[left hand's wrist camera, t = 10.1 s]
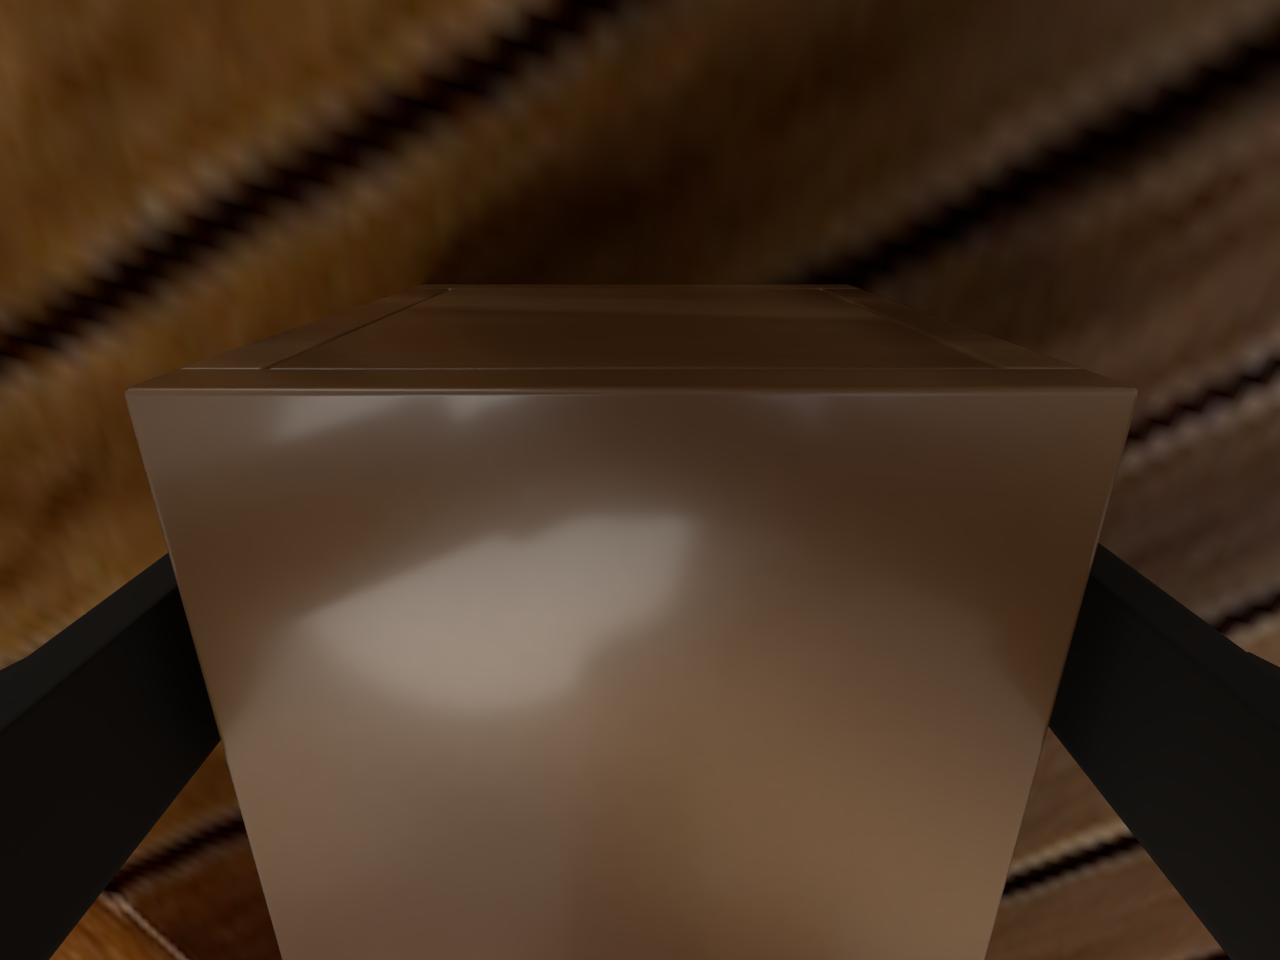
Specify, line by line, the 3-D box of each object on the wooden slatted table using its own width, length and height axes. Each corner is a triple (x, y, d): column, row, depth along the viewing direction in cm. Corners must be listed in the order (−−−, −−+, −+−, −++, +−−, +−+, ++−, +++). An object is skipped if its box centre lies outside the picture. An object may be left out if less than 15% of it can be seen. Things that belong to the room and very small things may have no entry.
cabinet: (786, 867, 26) (889, 1318, 16) (485, 868, 26) (381, 1321, 16) (849, 283, 18) (1145, 387, 8) (419, 284, 18) (117, 388, 8)
